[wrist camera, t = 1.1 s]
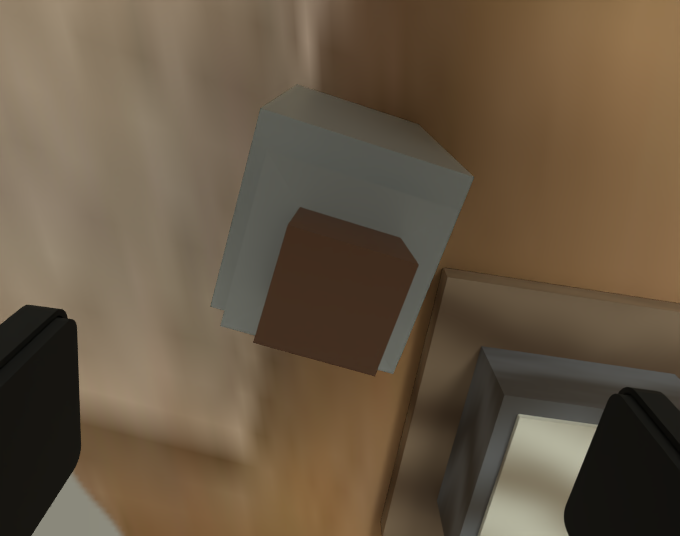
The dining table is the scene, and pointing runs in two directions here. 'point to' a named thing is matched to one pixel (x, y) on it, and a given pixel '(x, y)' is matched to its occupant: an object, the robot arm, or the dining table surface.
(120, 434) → the dining table surface
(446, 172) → the perfume bottle
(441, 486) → the stand
